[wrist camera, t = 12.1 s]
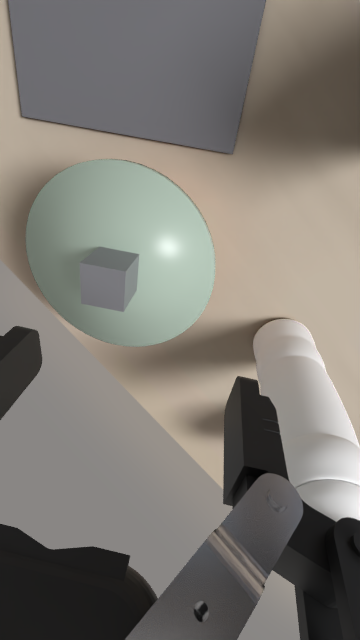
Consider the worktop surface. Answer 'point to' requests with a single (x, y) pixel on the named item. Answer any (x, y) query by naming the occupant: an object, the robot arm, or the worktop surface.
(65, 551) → the robot arm
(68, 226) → the lid
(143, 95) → the mat
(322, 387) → the water bottle
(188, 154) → the worktop surface
